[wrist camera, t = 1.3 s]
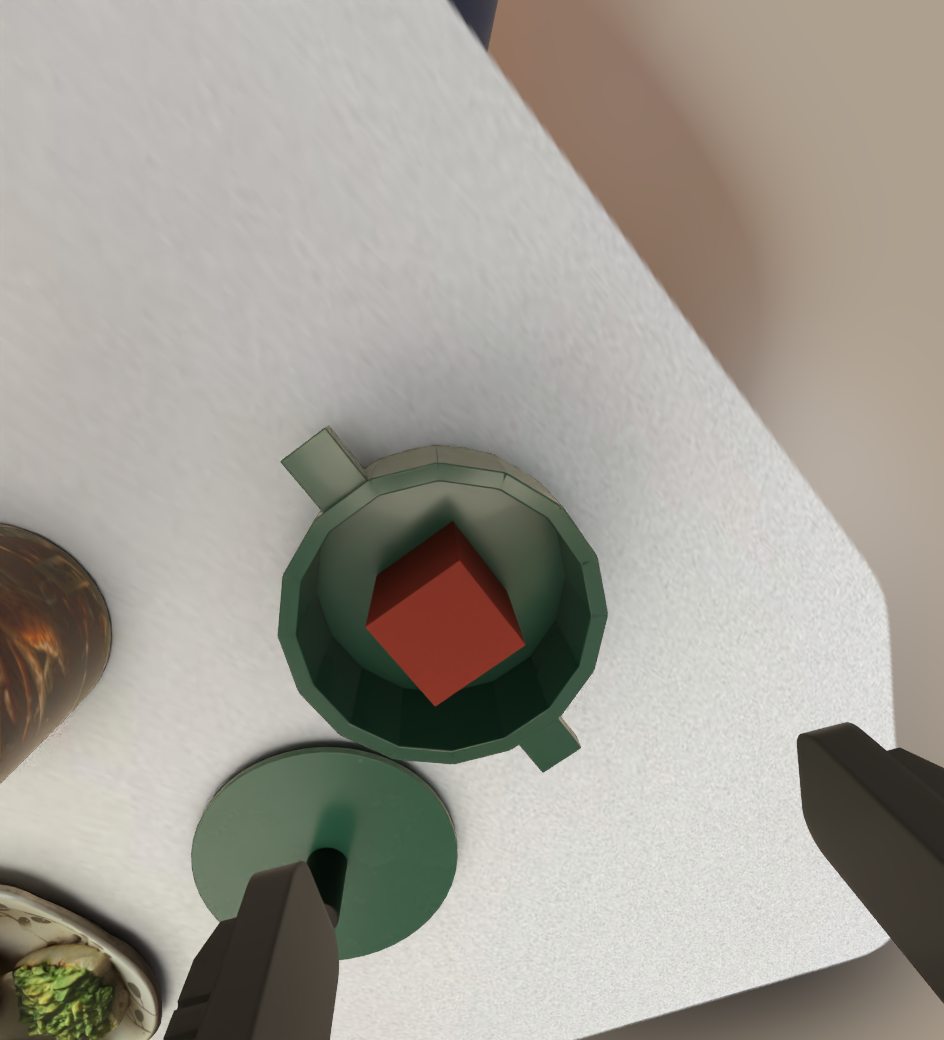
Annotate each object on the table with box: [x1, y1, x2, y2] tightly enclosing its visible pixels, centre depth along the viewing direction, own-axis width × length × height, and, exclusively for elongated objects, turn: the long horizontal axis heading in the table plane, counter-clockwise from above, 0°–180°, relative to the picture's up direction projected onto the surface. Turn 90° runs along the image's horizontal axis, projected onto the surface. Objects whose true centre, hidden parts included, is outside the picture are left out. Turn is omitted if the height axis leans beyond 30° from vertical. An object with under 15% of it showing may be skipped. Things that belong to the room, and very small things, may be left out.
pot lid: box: [191, 747, 457, 960], centre depth 33 cm, size 16×16×5 cm
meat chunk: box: [365, 521, 526, 706], centre depth 27 cm, size 5×5×6 cm
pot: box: [278, 426, 608, 772], centre depth 28 cm, size 15×20×5 cm
